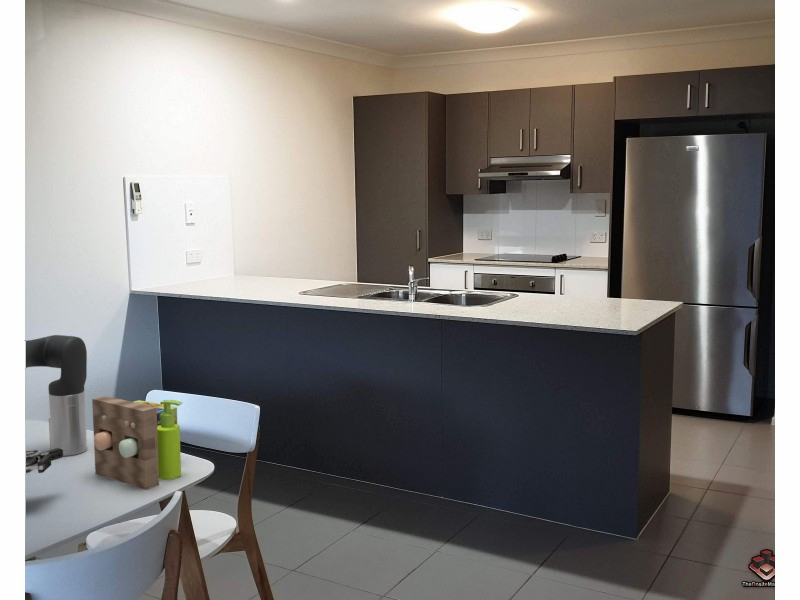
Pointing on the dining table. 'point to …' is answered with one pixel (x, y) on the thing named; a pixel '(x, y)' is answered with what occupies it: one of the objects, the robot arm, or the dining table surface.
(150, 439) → the button panel
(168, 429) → the soap dispenser
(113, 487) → the dining table surface
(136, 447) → the button two
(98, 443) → the button one
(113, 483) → the dining table surface
